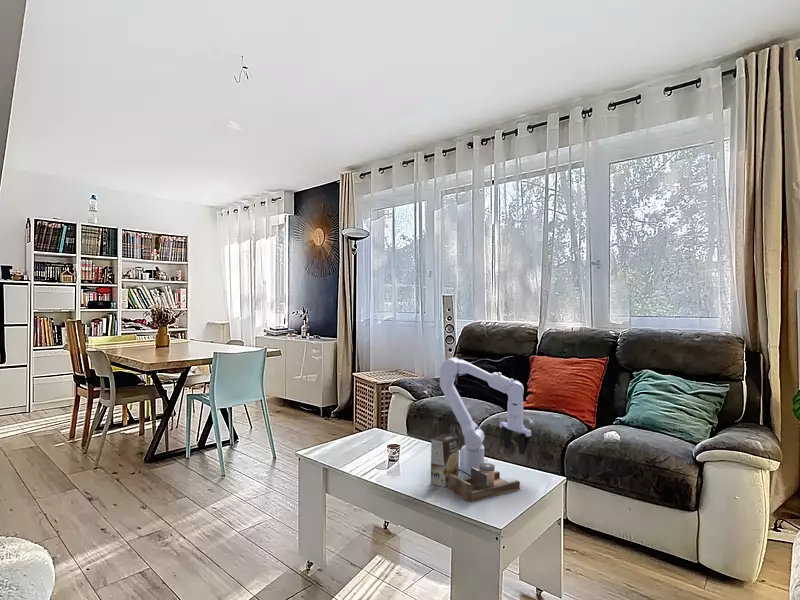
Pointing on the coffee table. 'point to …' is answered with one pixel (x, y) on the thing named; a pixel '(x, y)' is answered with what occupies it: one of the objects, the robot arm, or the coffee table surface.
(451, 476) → the pusher lane
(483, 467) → the jar
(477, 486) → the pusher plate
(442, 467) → the coffee box
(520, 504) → the coffee table surface
